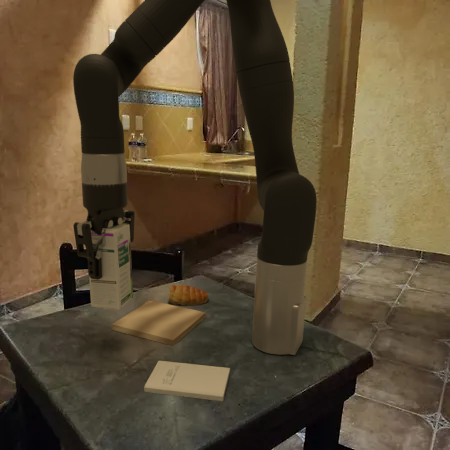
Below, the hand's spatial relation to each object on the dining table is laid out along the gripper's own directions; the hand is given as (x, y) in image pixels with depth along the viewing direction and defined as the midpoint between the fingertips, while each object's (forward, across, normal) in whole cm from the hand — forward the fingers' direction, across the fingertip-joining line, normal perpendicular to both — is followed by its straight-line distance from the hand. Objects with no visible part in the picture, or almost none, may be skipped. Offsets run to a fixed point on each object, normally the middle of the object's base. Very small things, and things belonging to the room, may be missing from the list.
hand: (108, 272), depth 79 cm
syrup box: (+6, 0, 0) cm, 6 cm away
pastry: (+15, +25, -2) cm, 29 cm away
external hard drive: (+15, -4, -19) cm, 24 cm away
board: (+14, +12, -4) cm, 19 cm away
